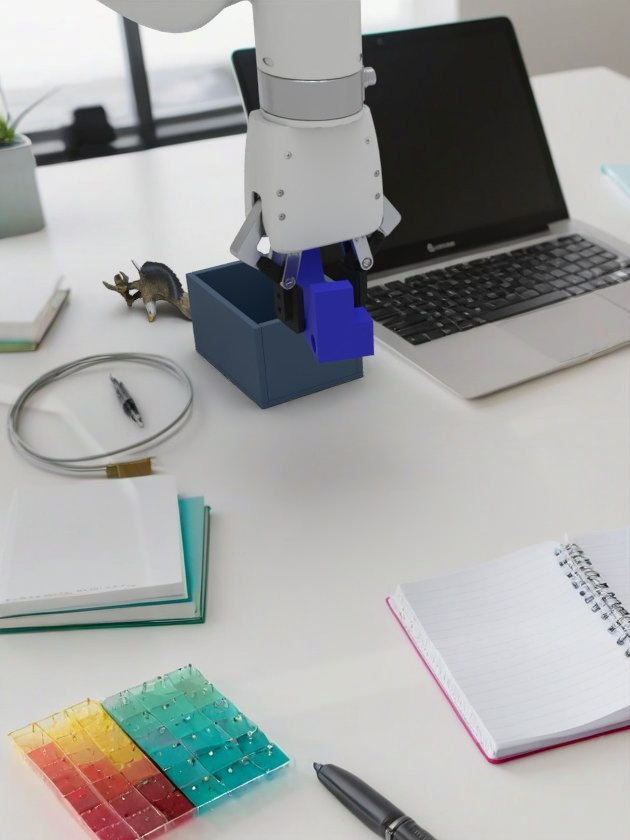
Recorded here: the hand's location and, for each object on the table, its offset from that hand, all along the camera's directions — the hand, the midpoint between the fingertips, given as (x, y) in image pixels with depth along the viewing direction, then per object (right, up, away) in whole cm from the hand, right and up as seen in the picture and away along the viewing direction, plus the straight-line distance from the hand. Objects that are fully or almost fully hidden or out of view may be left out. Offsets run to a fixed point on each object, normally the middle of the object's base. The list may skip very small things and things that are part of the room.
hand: (322, 316), depth 95 cm
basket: (-8, -1, +23) cm, 25 cm away
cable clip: (0, -1, +1) cm, 1 cm away
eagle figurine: (-23, +5, +32) cm, 39 cm away
